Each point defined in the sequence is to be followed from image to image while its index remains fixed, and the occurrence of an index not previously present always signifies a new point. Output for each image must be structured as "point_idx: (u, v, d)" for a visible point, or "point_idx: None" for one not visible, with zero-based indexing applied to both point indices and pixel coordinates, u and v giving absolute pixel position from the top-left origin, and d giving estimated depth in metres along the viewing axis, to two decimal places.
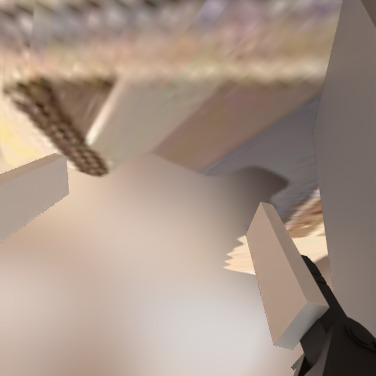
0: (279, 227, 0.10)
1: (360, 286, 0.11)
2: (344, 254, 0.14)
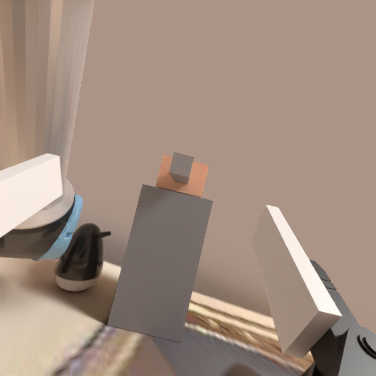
0: (286, 231, 0.10)
1: (173, 240, 0.38)
2: (178, 254, 0.38)
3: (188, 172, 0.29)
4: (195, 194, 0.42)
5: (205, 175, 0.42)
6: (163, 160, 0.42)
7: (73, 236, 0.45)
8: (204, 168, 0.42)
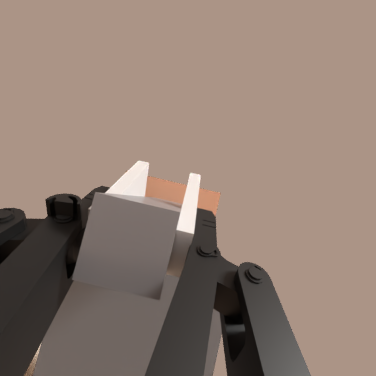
0: (193, 189, 0.12)
1: None
2: None
3: (156, 279, 0.07)
4: None
5: None
6: None
7: None
8: (211, 199, 0.20)
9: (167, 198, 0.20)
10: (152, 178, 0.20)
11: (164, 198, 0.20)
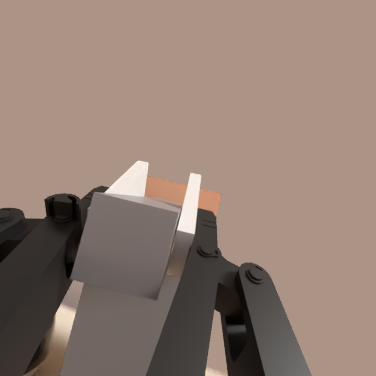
0: (193, 189, 0.12)
1: (150, 336, 0.21)
2: None
3: (154, 279, 0.07)
4: None
5: (214, 214, 0.20)
6: None
7: None
8: (212, 199, 0.20)
9: (168, 198, 0.20)
10: (153, 178, 0.20)
11: (165, 198, 0.20)
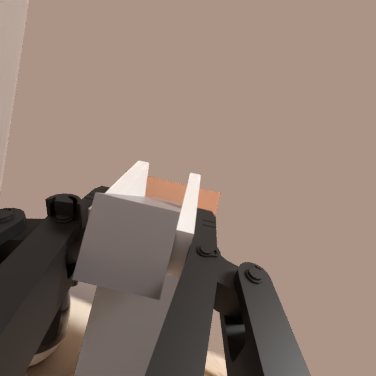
0: (193, 189, 0.12)
1: (156, 311, 0.26)
2: None
3: (156, 279, 0.07)
4: None
5: None
6: None
7: None
8: (212, 199, 0.20)
9: (167, 198, 0.20)
10: (152, 178, 0.20)
11: (164, 198, 0.20)
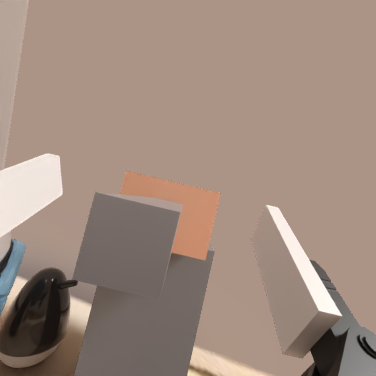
0: (286, 231, 0.10)
1: (156, 311, 0.26)
2: (164, 332, 0.26)
3: (156, 279, 0.07)
4: (192, 254, 0.20)
5: (213, 214, 0.20)
6: (125, 183, 0.20)
7: (23, 290, 0.33)
8: (211, 199, 0.20)
9: (167, 198, 0.20)
10: (152, 178, 0.20)
11: (164, 198, 0.20)
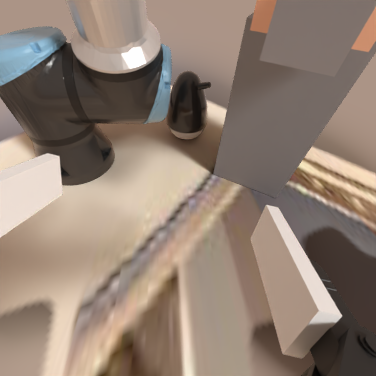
0: (286, 231, 0.10)
1: (285, 110, 0.28)
2: (290, 127, 0.30)
3: (337, 57, 0.07)
4: None
5: None
6: None
7: (174, 90, 0.43)
8: None
9: None
10: None
11: None
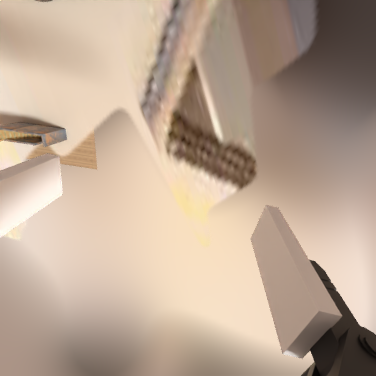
0: (286, 231, 0.10)
1: None
2: None
3: None
4: None
5: None
6: None
7: None
8: None
9: None
10: None
11: None
